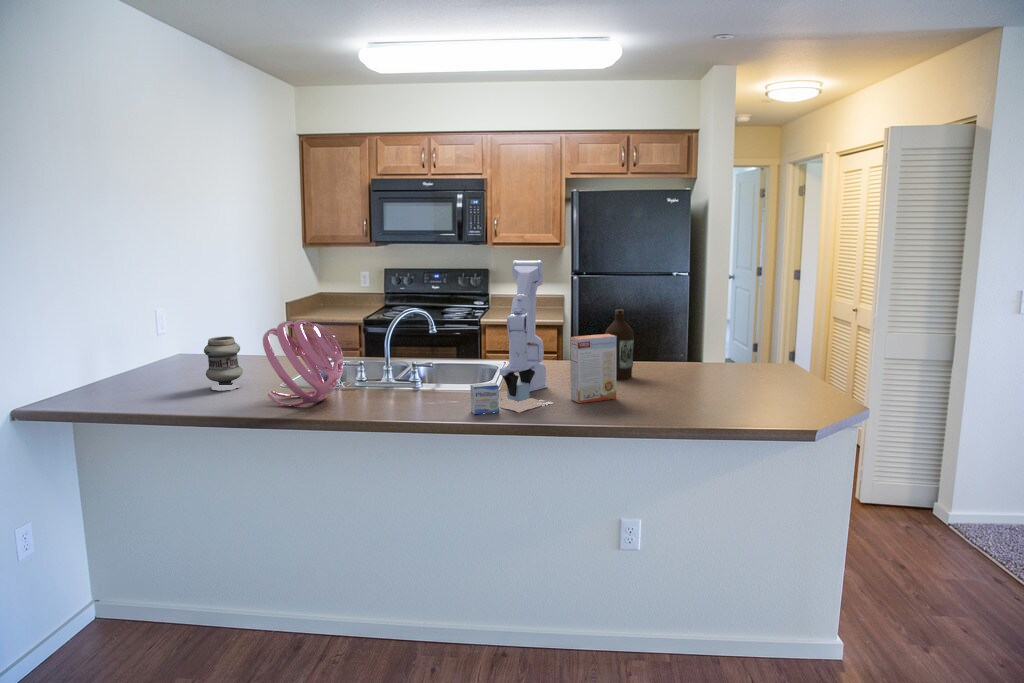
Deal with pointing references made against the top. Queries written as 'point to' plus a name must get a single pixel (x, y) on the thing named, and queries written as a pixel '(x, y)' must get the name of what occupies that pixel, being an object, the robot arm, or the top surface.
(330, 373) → the spiral basket
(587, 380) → the cracker box
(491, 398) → the medicine box
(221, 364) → the apothecary jar
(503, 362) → the top surface
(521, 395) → the blue cube
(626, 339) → the olive oil
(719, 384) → the top surface
